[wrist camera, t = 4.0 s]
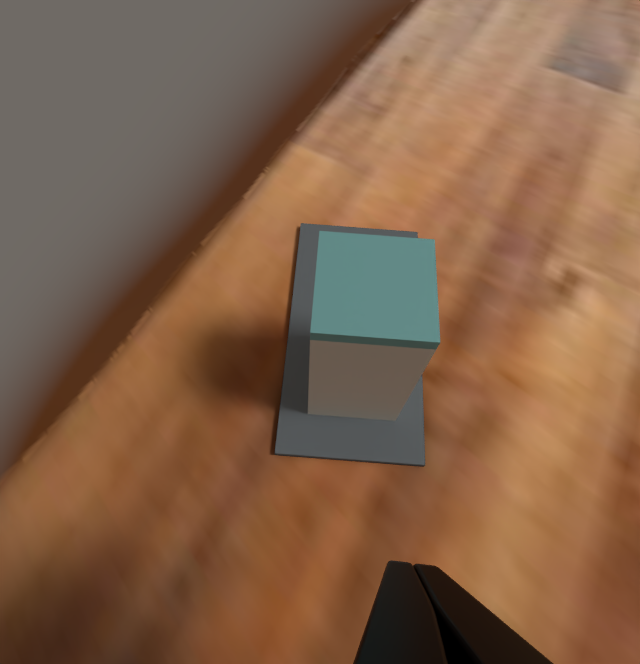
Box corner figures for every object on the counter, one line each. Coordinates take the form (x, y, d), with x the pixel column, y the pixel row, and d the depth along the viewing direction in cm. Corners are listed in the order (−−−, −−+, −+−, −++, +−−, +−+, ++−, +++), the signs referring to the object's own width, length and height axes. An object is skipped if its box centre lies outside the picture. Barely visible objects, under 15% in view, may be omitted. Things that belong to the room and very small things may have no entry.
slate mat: (423, 466, 21) (425, 464, 21) (275, 454, 21) (274, 453, 21) (416, 235, 27) (417, 232, 27) (301, 226, 27) (300, 223, 27)
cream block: (395, 420, 22) (440, 342, 15) (307, 414, 22) (310, 332, 15) (394, 342, 24) (434, 239, 16) (314, 336, 24) (319, 231, 16)
